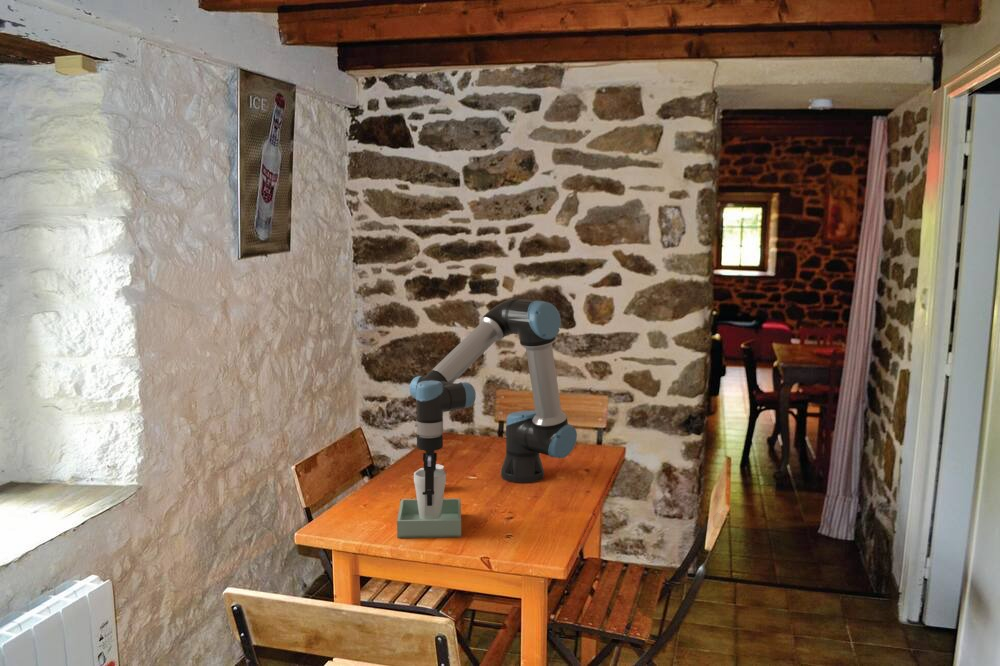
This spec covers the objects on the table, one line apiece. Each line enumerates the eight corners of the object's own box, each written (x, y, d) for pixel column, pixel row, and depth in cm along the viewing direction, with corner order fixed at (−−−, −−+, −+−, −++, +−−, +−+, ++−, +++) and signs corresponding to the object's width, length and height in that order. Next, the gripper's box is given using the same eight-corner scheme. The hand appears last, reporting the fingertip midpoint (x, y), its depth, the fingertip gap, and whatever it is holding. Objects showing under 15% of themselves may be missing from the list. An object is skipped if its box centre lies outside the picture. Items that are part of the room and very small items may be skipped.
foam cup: (414, 510, 240) (414, 468, 239) (445, 510, 241) (445, 468, 239) (413, 522, 231) (413, 478, 229) (446, 521, 232) (446, 478, 230)
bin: (460, 514, 246) (460, 498, 245) (461, 537, 228) (461, 520, 227) (401, 515, 245) (401, 499, 244) (397, 538, 227) (397, 521, 226)
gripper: (418, 425, 243) (418, 496, 246) (414, 445, 222) (415, 523, 225) (443, 424, 244) (443, 496, 247) (442, 445, 222) (442, 523, 225)
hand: (430, 509), depth 236 cm, fingers closed on foam cup, 9 cm apart
